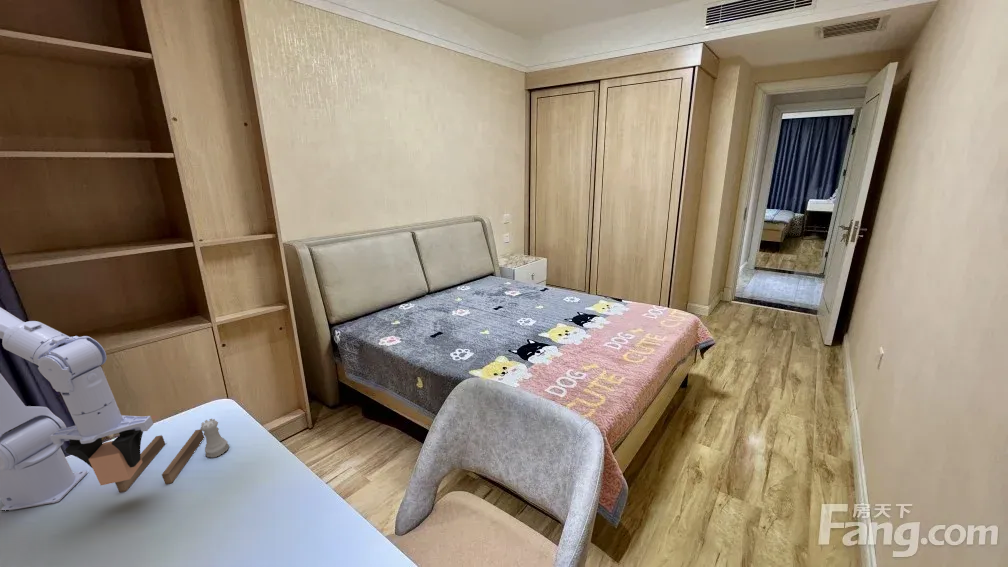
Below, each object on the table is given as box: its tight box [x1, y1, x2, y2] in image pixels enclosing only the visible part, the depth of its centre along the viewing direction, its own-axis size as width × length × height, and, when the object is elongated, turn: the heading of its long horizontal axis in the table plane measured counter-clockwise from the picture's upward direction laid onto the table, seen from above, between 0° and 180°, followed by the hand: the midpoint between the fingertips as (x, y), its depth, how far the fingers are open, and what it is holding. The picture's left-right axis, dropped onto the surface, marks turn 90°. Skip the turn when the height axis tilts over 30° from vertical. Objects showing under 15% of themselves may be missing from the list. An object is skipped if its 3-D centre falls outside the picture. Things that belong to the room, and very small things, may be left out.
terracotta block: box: [89, 440, 142, 486], centre depth 76 cm, size 4×4×6 cm
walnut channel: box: [114, 429, 205, 493], centre depth 88 cm, size 9×14×2 cm
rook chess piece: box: [199, 418, 230, 459], centre depth 90 cm, size 4×4×8 cm
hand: (119, 465), depth 76 cm, fingers closed on terracotta block, 5 cm apart
